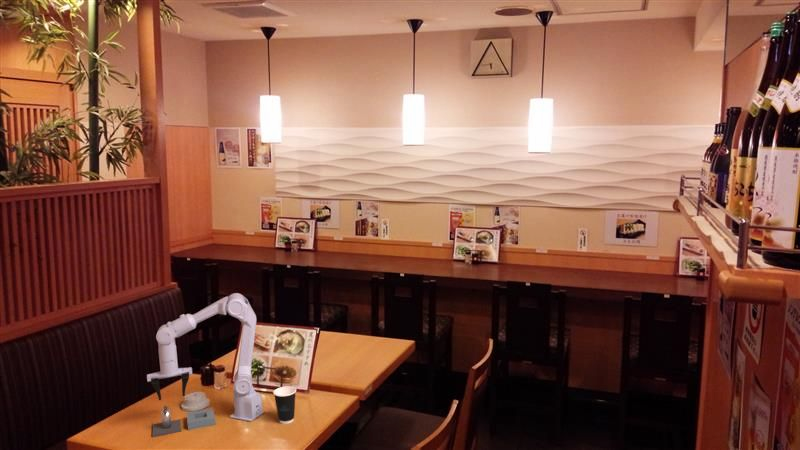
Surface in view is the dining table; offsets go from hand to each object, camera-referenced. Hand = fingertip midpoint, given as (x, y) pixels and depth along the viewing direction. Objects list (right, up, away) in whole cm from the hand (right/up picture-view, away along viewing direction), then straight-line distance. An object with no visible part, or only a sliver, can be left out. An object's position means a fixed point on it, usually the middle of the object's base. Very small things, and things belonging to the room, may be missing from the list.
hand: (171, 396), depth 206 cm
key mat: (-1, -11, -1) cm, 11 cm away
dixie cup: (+40, -9, +1) cm, 41 cm away
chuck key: (-1, -10, -1) cm, 10 cm away
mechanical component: (+2, -9, +17) cm, 19 cm away
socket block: (+9, -10, +3) cm, 14 cm away
